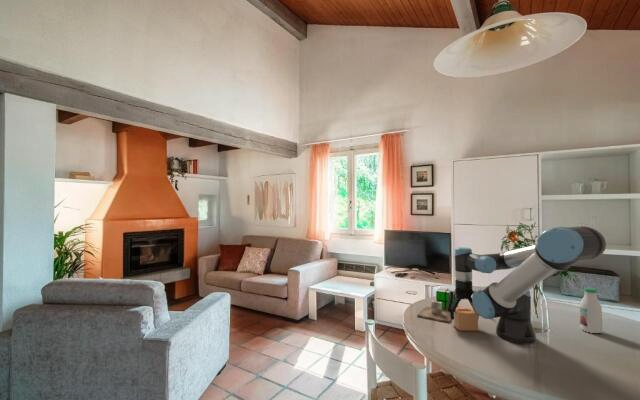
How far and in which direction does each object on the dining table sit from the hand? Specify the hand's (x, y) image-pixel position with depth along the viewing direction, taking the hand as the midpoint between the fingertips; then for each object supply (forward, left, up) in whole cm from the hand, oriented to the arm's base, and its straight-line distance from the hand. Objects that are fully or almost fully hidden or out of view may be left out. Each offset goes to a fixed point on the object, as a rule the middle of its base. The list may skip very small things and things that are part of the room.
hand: (464, 326), depth 149 cm
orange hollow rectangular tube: (0, 0, 0) cm, 0 cm away
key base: (+15, -9, 0) cm, 18 cm away
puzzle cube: (+13, -25, -1) cm, 28 cm away
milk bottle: (-50, -27, -1) cm, 57 cm away
